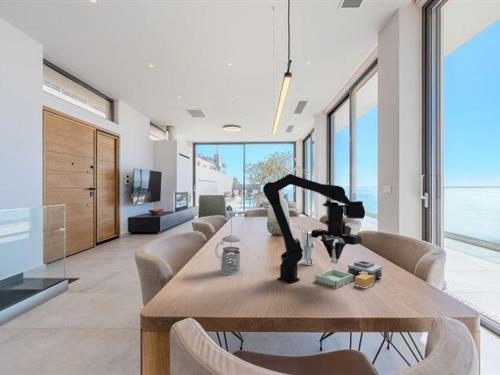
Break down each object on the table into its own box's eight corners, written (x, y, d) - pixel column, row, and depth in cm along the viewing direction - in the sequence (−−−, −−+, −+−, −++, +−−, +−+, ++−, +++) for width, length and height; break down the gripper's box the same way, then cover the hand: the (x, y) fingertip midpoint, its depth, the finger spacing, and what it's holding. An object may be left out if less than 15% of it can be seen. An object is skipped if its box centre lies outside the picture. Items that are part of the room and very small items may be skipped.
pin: (335, 263, 102) (335, 246, 102) (329, 262, 104) (330, 245, 104) (339, 262, 104) (339, 246, 104) (333, 261, 106) (333, 244, 106)
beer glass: (298, 264, 126) (299, 232, 126) (303, 260, 132) (303, 230, 132) (313, 266, 122) (314, 233, 122) (317, 262, 129) (317, 231, 128)
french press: (239, 276, 109) (239, 214, 108) (211, 273, 111) (212, 213, 111) (244, 268, 118) (245, 212, 118) (219, 266, 120) (219, 211, 120)
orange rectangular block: (365, 289, 97) (365, 279, 97) (354, 286, 100) (355, 276, 100) (374, 284, 101) (374, 275, 101) (364, 281, 104) (364, 272, 104)
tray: (336, 288, 97) (336, 281, 97) (315, 281, 104) (315, 274, 103) (353, 281, 104) (353, 274, 104) (332, 274, 111) (333, 268, 111)
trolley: (371, 283, 102) (371, 268, 102) (347, 276, 110) (347, 262, 110) (382, 277, 108) (382, 264, 108) (358, 271, 116) (358, 258, 116)
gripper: (369, 219, 102) (368, 260, 102) (326, 214, 116) (325, 250, 116) (353, 221, 95) (353, 265, 95) (310, 216, 109) (309, 254, 109)
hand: (334, 258), depth 104 cm, fingers closed on pin, 2 cm apart
